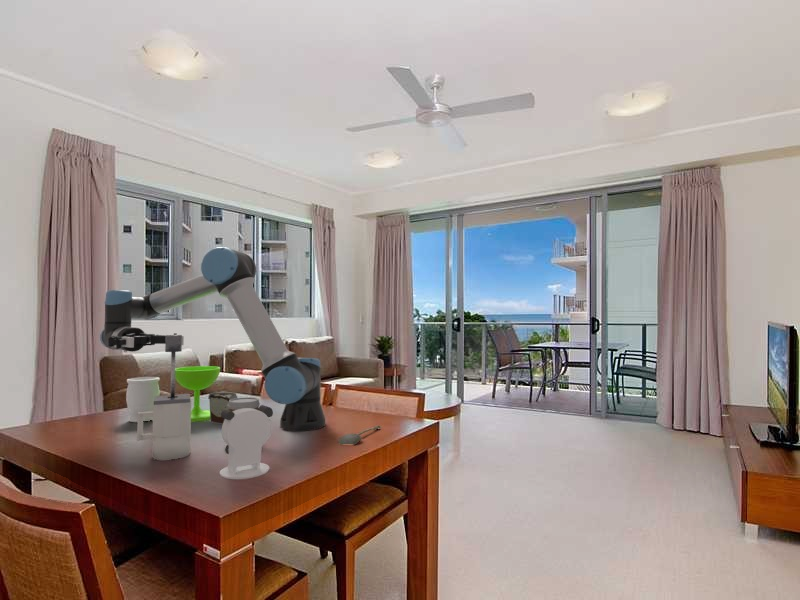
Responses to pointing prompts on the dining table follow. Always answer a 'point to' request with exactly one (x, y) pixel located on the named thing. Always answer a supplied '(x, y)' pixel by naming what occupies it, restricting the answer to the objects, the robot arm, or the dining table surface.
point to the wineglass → (197, 385)
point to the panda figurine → (245, 441)
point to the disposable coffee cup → (243, 403)
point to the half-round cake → (219, 405)
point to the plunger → (173, 355)
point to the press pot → (168, 426)
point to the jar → (141, 396)
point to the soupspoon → (353, 437)
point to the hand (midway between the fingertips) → (158, 341)
